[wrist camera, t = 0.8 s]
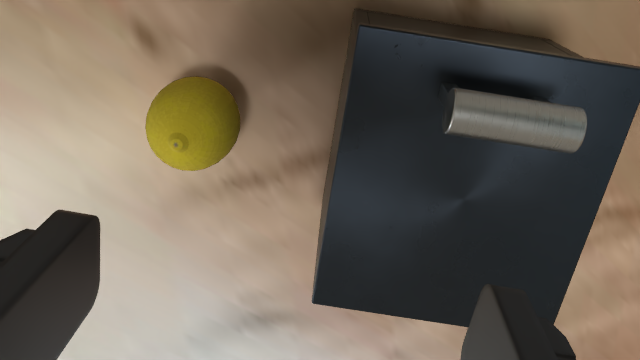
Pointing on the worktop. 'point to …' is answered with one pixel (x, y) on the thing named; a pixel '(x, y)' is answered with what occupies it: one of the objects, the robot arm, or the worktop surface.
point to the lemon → (192, 123)
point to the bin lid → (466, 173)
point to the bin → (426, 27)
